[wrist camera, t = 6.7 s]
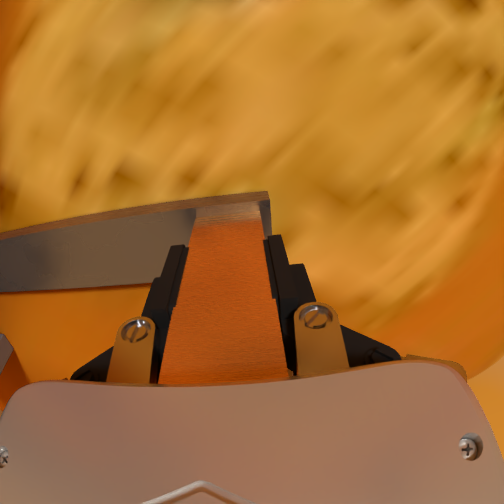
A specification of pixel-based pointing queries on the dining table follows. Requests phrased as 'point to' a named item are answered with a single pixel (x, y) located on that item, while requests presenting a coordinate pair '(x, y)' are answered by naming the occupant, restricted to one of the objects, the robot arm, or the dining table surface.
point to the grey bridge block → (4, 351)
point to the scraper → (192, 283)
